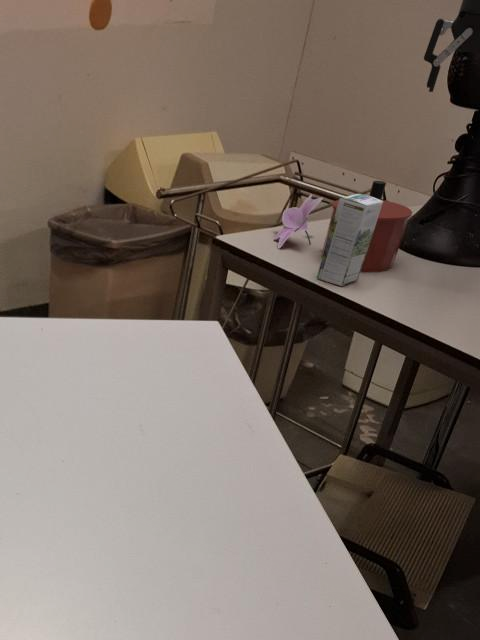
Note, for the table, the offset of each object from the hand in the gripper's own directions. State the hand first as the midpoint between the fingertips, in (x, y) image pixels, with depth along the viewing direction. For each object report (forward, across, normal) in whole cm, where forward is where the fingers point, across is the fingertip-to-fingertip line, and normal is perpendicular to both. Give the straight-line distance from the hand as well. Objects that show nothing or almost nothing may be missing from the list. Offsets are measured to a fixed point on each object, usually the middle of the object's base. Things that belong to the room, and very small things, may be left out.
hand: (456, 93), depth 148 cm
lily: (+30, -22, +6) cm, 38 cm away
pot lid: (+20, -8, +1) cm, 22 cm away
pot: (+30, -8, +1) cm, 31 cm away
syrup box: (+30, -10, -14) cm, 35 cm away
